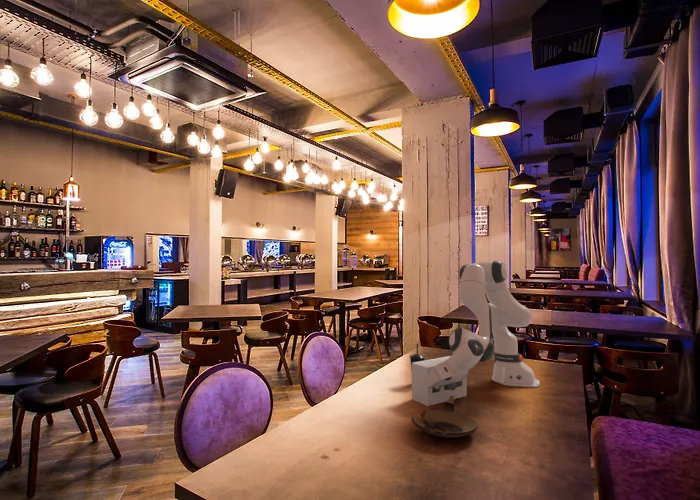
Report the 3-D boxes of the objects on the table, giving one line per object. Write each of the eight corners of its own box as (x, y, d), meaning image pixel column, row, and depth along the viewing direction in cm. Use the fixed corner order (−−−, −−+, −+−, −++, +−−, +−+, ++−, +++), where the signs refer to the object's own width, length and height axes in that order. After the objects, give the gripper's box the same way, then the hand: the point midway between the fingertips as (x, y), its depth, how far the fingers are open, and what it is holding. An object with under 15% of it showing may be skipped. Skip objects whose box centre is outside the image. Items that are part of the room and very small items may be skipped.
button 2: (456, 389, 168) (456, 380, 168) (449, 391, 166) (449, 381, 166) (451, 387, 171) (451, 378, 171) (444, 389, 168) (444, 380, 169)
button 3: (439, 390, 167) (439, 381, 167) (433, 392, 165) (432, 382, 165) (434, 388, 169) (434, 379, 169) (428, 390, 167) (427, 381, 167)
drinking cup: (424, 382, 196) (424, 342, 197) (426, 386, 189) (425, 345, 190) (409, 381, 197) (409, 342, 198) (410, 386, 189) (410, 345, 190)
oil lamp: (397, 435, 135) (397, 413, 136) (442, 411, 157) (442, 392, 157) (455, 457, 120) (455, 431, 120) (496, 427, 141) (496, 406, 142)
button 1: (462, 385, 174) (461, 376, 174) (455, 386, 172) (455, 377, 172) (456, 383, 177) (456, 374, 177) (450, 385, 175) (450, 376, 175)
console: (467, 396, 175) (467, 360, 176) (428, 406, 162) (428, 368, 163) (450, 389, 184) (449, 355, 185) (411, 399, 171) (411, 362, 172)
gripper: (467, 359, 165) (450, 376, 173) (432, 365, 154) (416, 384, 162) (476, 372, 161) (458, 389, 169) (440, 379, 150) (423, 398, 158)
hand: (437, 387), depth 165 cm, fingers closed, pressing on button 3
